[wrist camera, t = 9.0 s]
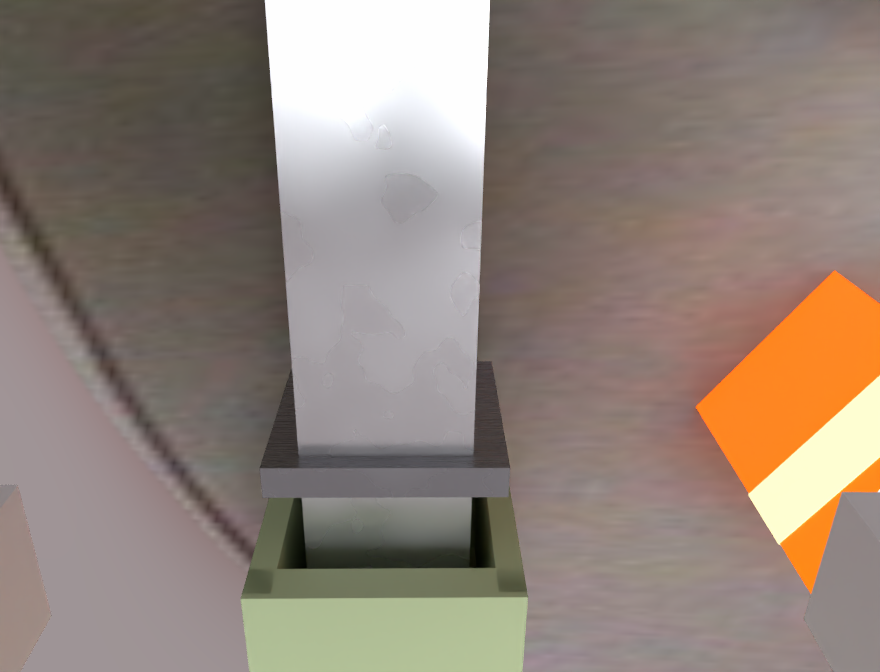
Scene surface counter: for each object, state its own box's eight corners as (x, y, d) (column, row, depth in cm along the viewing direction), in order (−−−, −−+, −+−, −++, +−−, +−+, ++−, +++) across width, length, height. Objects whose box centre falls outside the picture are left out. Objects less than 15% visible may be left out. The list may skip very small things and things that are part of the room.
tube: (250, -229, 21) (182, -305, 15) (517, -223, 21) (555, -296, 15) (306, 535, 32) (279, 669, 26) (483, 535, 32) (498, 668, 26)
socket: (297, 399, 32) (240, 598, 22) (494, 399, 33) (528, 597, 22) (307, 537, 35) (261, 769, 25) (488, 536, 36) (514, 766, 25)
